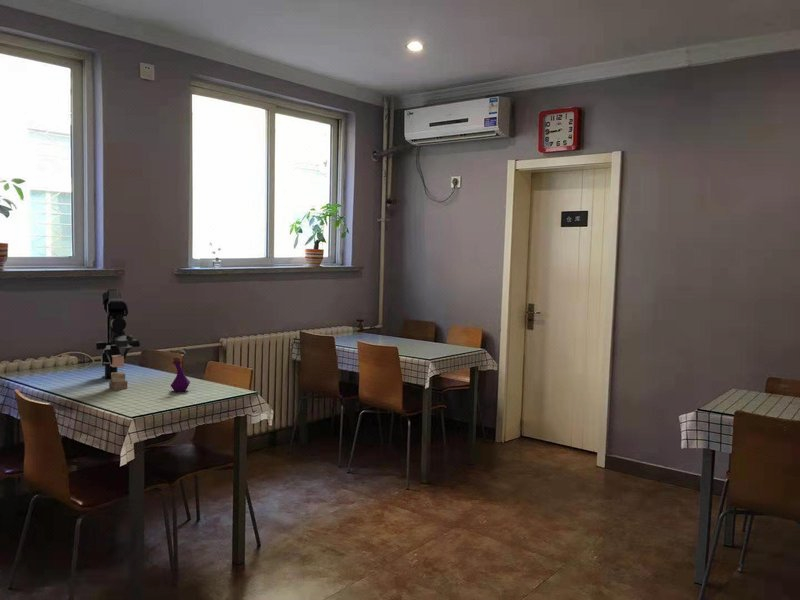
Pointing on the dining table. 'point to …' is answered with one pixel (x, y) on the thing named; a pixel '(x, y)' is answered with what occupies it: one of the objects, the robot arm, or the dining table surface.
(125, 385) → the tower base
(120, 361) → the cube
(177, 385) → the purple faceted vase
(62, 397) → the dining table surface
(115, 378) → the tower mid
